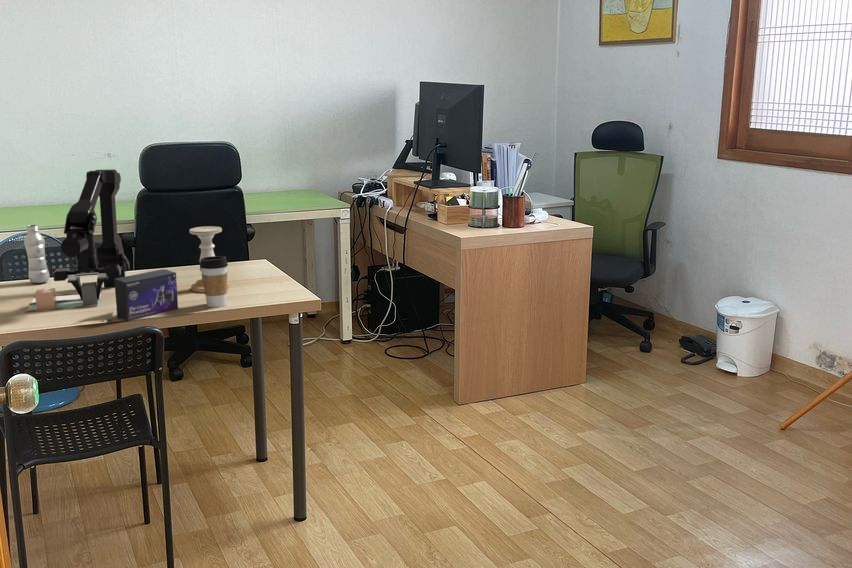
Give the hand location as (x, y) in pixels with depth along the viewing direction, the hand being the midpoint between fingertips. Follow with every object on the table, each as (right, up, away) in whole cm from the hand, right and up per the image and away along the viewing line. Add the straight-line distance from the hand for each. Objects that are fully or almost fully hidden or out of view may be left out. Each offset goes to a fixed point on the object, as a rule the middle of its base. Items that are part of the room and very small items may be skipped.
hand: (90, 299), depth 256 cm
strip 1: (-7, -3, -2) cm, 8 cm away
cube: (-12, -2, -3) cm, 13 cm away
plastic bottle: (-30, +5, +32) cm, 44 cm away
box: (+20, -4, -7) cm, 22 cm away
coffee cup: (+39, -2, +1) cm, 39 cm away
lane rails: (-9, -2, +3) cm, 9 cm away
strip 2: (-10, -1, +7) cm, 12 cm away
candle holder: (+31, +3, +21) cm, 38 cm away
